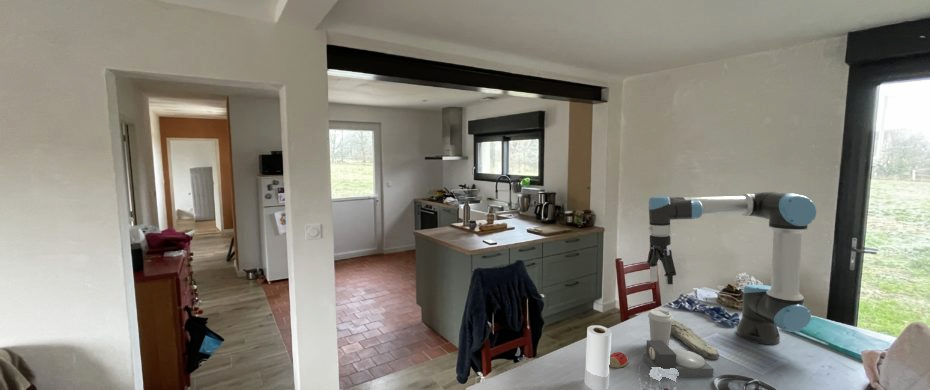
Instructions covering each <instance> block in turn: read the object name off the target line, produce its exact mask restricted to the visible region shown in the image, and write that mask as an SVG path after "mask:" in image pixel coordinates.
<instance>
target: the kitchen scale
mask: <svg viewBox="0 0 930 390" xmlns="http://www.w3.org/2000/svg"><path fill="white" fill-rule="evenodd" d="M645 347H646V350H645V351H642V360H643V361H644V362H645V363H646V365H647V366H648V367H649V368H650V367H661V368H663V369H670V368H675V369H677V370H678V372H679V376H678V377H704V378H705V377H706V378H707V377H709V378H711V377H714V368H713V367H712V365H710V364H709V363H708V362H707V361H706V360H705V359H704V357H703V356H701V355H700V354H698V353H696V352H695V351H689V350H685V349H672V348H671V347H670V346H669V347H668V346H667V345H666V344H665V343H664V342H663V341H662V340H651V339H650V340H649V339H648V340H647V339H646V345H645Z"/></svg>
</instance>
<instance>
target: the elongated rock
mask: <svg viewBox="0 0 930 390" xmlns="http://www.w3.org/2000/svg"><path fill="white" fill-rule="evenodd" d="M670 336H673V337H675V339H678V340H680V341H681V342H682V343H683V344H684V345H686V346H687V347H689V348H690V349H692V351H693V352H695V353H696V354H698V355H700V356H701V357H702V358H705V359H708V360H712V361H714V360H716V361H717V360H719V358H720V354H719V352H718V351H717V349H716V348H715V347H713V346H712V345H710V343H709V342H707V341H706V340H705V339H703V338H701V337H700V336H699V335H698V334H697V333H695V332H694V330H692V328H691V327H687V326H686V325H685V324H683V323H680V322H679V321H677V320H674V319H673V321H672V325H671V332H670Z"/></svg>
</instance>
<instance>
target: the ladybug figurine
mask: <svg viewBox="0 0 930 390" xmlns="http://www.w3.org/2000/svg"><path fill="white" fill-rule="evenodd" d="M609 356H610V366H609V367H611V368H614V369H621V368H625V367H626V366H627V364H628V363H629V359H628V356H627V355H626V354H625V353H624V352H621V351H617V352H613V353H612V354H611V355H609Z"/></svg>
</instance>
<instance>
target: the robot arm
mask: <svg viewBox="0 0 930 390" xmlns="http://www.w3.org/2000/svg"><path fill="white" fill-rule="evenodd" d="M733 214H734V215H739V214H741V216H744V217H756V218H762V219H766V220H768V228H770V229H771V230H772V231H773V236H772V237H773V239H772V258H771V259H772V260H771V281H770V284H771V285H766V284H754V283H753V284H746V285H745V286H744V287H743V291H742V310H741V311H742V313H741V315H742V316H741V318H740V320H739V322H738V325H737V326H736V334H737V335H738V336H739V337H741V339H744V340H748V341H749V342H753V343H757V344H762V345H778V344H779V343H780V341H781V337H780V336H781V335H780V333H779V330H778V329H782V330H784V331H786V332H791V333H794V332H799V331H802V330H803V329H804V328H807V326H808V325H809V324H810V322H811V320H812V313H811V311H810V310H809V309H808V308H807V306H804V305H805V302H804V300H805V297H804V295H802V294H801V293H800V283H801V282H800V281H801V279H800V278H801V277H800V276H801V262H802V261H801V258H802V256H801V255H802V241H803V240H802V237H803V235H802V234H803V233H804V232H805V231H807V230H808V226H809V225H810V224H812V222H813V221H814V220H815V219H816V216H817V207H816V204H815V203H814V201H812V199H810V198H809V197H807V196H805V195H802V194H797V193H789V192H778V191H764V192H754V193H753V192H752V193H742V194H741V195H737V196H736V195H733V196H732V195H728V196H727V195H726V196H723V195H722V196H720V195H719V196H683V197H682V196H681V197H680V196H676V197H675V196H674V197H672V196H667V195H666V196H665V195H664V196H662V195H661V196H651V197H649V200H648V217H649V218H648V221H649V226H648V230H649V234H650V235H649V251H648V255H647V256H648V257H647V261H646V263H647V264H648V266H649V281H650V283H656V282H659V279H658V262H659V261H661V264H662V267H663V270H664V272H665V273H664V292H665V293H674V276H677V271H676V268H675V263H674V259H673V252H672V249H668V246H671V244H672V243H671V238H672V237H671V220H695V219H699V218H701V217H702V216H703V215H733Z"/></svg>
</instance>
